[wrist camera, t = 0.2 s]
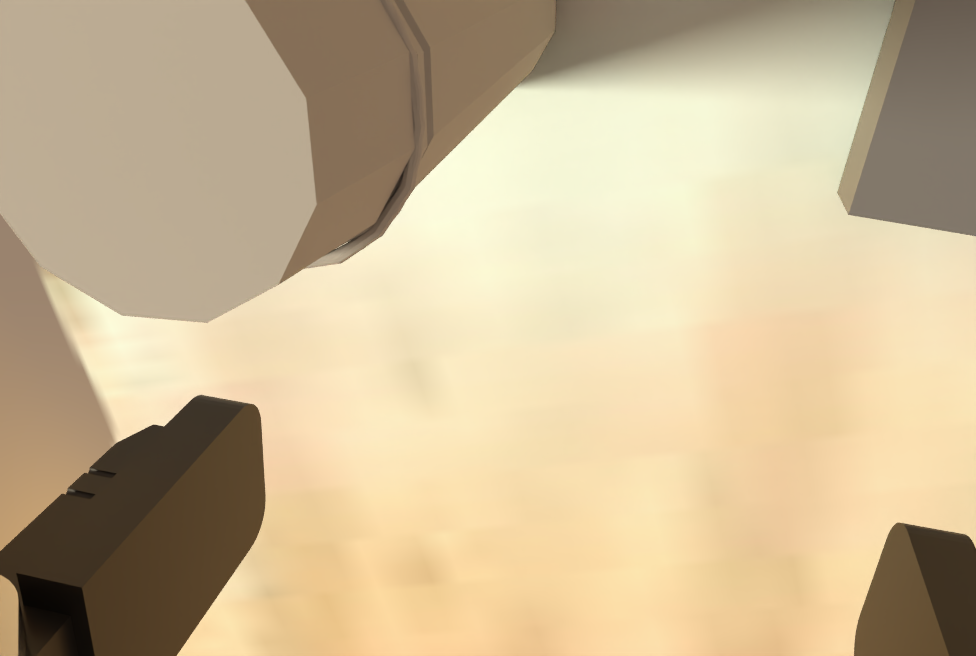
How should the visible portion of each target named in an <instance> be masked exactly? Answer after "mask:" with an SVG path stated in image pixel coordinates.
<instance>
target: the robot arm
mask: <svg viewBox="0 0 976 656" xmlns="http://www.w3.org/2000/svg"><path fill="white" fill-rule="evenodd" d="M264 510H265V481H264V464H263V446H262V429H261V417H260V413H259V410H258V408H257V407H256V406H255V405H254V404H248V403H243V402H237V401H231V400H226V399H220V398H215V397H209V396H204V395H199V396H196V397H194V398H193V399H192V400H191V401H190V402H189V403H188V404H187V405H186V406H185V407H184V408H183V409H182V410H181V411H180V412H179V413H178V414H177V415H176V416H175V417H174V418H173V419H172V420H171V421H169V422H168V423H167V424H166V425H165V426H164V427H163V426H158V425H151V426H149V427H147V428H145V429H144V430H142V431H140V432H138V433H136V434H134V435H132V436H130V437H128V438H126V439H124V440H122V441H120V442H118V443H116V444H115V445H114V446H113V447H111V448H110V449H109V450H108V451H107V452H106V453H105V454H104V455H103V456H102V457H101V458H100V459H99V460H98V461H97V462H95V463H94V464H93V465H92V466H91V467H90V470H89V473H88V474H87V473H84V474H83V475H81V477H79V479H77V480H76V481H75V482H74V483H73V484H72V485H71V486H70V487H69V488H68V491H67V493H66V495H65V494H61V495H60V496H59V497H58V498H57V499H56V500H55V501H54V502H53V503H52V504H51V505H49V506H48V507H47V508H46V509H45V510H44V511H43V512H42V513H41V514H40V515H39V516H38V517H37V518H35V520H34V521H32V522H31V523H30V524H29V525H28V526H27V527H26V528H25V529H24V530H23V531H21V532H20V533H19V534H18V535H17V536H16V537H15V538H14V539H13V540H12V541H11V542H10V543H9V544H8V545H6V546H5V547H4V548H3V549H2V550H1V551H0V656H177V654H178V653H179V651H180V650H181V648H182V647H183V646H184V644H185V643H186V641H187V640H188V638H189V637H190V635H191V634H192V632H193V631H194V630H195V628H196V627H197V625H198V624H199V622H200V621H201V619H202V618H203V617H204V615H205V614H206V612H207V611H208V609H209V608H210V606H211V605H212V603H213V602H214V601H215V599H216V598H217V596H218V595H219V593H220V592H221V590H222V589H223V588H224V586H225V585H226V583H227V582H228V580H229V579H230V577H231V576H232V574H233V573H234V572H235V570H236V569H237V567H238V566H239V564H240V563H241V561H242V560H243V559H244V557H245V556H246V554H247V553H248V551H249V550H250V548H251V547H252V545H253V544H254V542H255V540H256V538H257V535H258V533H259V530H260V527H261V524H262V521H263V516H264ZM854 656H976V548H975V546H974V544H973V542H972V540H971V539H970V538H969V536H967V535H965V534H959V533H954V532H948V531H943V530H937V529H932V528H926V527H920V526H915V525H909V524H904V523H896V524H895V525H894V526H893V527H892V529H891V530H890V532H889V534H888V537H887V539H886V542H885V545H884V548H883V551H882V554H881V557H880V560H879V562H878V565H877V568H876V571H875V574H874V577H873V580H872V582H871V585H870V588H869V591H868V594H867V597H866V600H865V602H864V605H863V608H862V611H861V614H860V617H859V620H858V624H857V629H856V636H855V647H854Z"/></svg>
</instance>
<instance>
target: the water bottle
mask: <svg viewBox="0 0 976 656" xmlns="http://www.w3.org/2000/svg"><path fill="white" fill-rule="evenodd" d="M555 23H556V0H0V214H1V215H2V217H3V218H4V219H5V220H6V222H7V223H8V225H9V226H10V227H11V229H12V230H13V231H14V233H15V234H16V235H17V236H18V237H19V239H20V240H21V242H22V243H23V244H24V246H25V247H26V248H27V250H28V251H29V252H30V254H31V255H32V256H33V258H34V259H35V260H36V261H37V263H38V264H39V265H40V267H42V268H43V269H45V270H47V271H49V272H50V273H52V274H54V275H55V276H57V277H59V278H60V279H62V280H64V281H65V282H67V283H69V284H70V285H72V286H74V287H75V288H77V289H79V290H80V291H82V292H84V293H85V294H87V295H89V296H90V297H92V298H94V299H95V300H97V301H99V302H100V303H102V304H104V305H105V306H107V307H109V308H110V309H112V310H114V311H115V312H117V313H119V314H120V315H123V316H134V317H146V318H158V319H169V320H181V321H192V322H204V323H208V322H210V321H211V320H213V319H215V318H217V317H219V316H221V315H223V314H224V313H226V312H228V311H230V310H232V309H234V308H236V307H238V306H239V305H241V304H243V303H245V302H247V301H249V300H251V299H253V298H254V297H256V296H258V295H260V294H262V293H264V292H266V291H267V290H269V289H271V288H273V287H275V286H277V285H279V284H280V283H282V282H283V281H285V280H287V279H288V278H290V277H291V276H293V275H294V274H296V273H298V272H299V271H301V270H302V269H305V268H312V267H319V266H325V265H332V264H339V263H343V262H344V261H345V260H347V259H348V258H350V257H351V256H353V255H354V254H356V253H357V252H359V251H360V250H362V249H364V248H365V247H366V246H368V245H369V244H371V243H372V242H374V241H375V240H376V239H378V238H379V237H381V236H382V235H383V234H384V233H385V231H386V230H387V228H388V227H389V225H390V224H391V222H392V221H393V220H394V218H395V217H396V216H397V215H398V213H399V212H400V211H401V209H402V207H403V205H404V203H405V202H406V200H407V199H408V197H409V196H410V194H411V193H412V191H413V190H414V188H415V187H416V186H417V185H418V184H419V183H420V182H421V181H422V180H423V179H424V178H425V177H426V176H427V175H428V174H429V173H430V172H431V171H432V170H433V169H434V168H435V167H436V166H437V165H438V164H439V163H440V162H441V161H442V160H443V159H444V158H445V157H446V156H447V155H448V154H449V153H450V152H451V151H452V150H453V149H454V148H455V147H456V146H457V145H458V144H459V143H460V142H461V141H462V140H463V139H464V138H465V137H466V136H467V135H468V134H469V133H470V132H471V131H472V130H473V129H474V128H475V127H476V126H477V125H478V124H479V123H480V122H481V121H482V120H483V119H484V118H485V117H486V116H487V115H488V114H489V113H490V112H491V111H492V110H493V109H494V108H495V107H496V106H497V105H498V104H499V103H500V102H501V101H502V100H503V99H504V98H505V97H506V96H507V95H508V94H509V93H510V92H511V91H512V90H513V89H514V88H515V87H516V86H517V85H518V84H519V83H520V82H521V81H522V80H524V79H525V78H526V77H527V76H528V75H529V74H530V73H531V72H532V70H533V69H534V67H535V65H536V63H537V62H538V60H539V58H540V56H541V55H542V53H543V51H544V50H545V48H546V46H547V44H548V43H549V41H550V39H551V37H552V36H553V34H554V32H555ZM350 240H351V241H350ZM348 241H349V242H348ZM346 242H348V243H346ZM344 243H346V244H344ZM343 244H344V245H343ZM341 245H342V246H341ZM339 246H341V247H339ZM337 247H339V248H337ZM335 248H337V249H335Z"/></svg>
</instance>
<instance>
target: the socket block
mask: <svg viewBox="0 0 976 656" xmlns="http://www.w3.org/2000/svg"><path fill="white" fill-rule="evenodd" d="M837 193H838V195H839V197H840V199H841V201H842V203H843V205H844V207H845V209H846V211H847V213H848V215H853V216H859V217H865V218H871V219H877V220H883V221H889V222H895V223H901V224H907V225H913V226H919V227H925V228H931V229H937V230H943V231H949V232H955V233H960V234H966V235H972V236H976V0H896V1H895V4H894V7H893V11H892V14H891V17H890V21H889V24H888V27H887V30H886V34H885V37H884V40H883V44H882V47H881V50H880V54H879V57H878V60H877V63H876V67H875V70H874V73H873V77H872V80H871V83H870V87H869V90H868V93H867V96H866V100H865V103H864V106H863V110H862V113H861V116H860V120H859V123H858V126H857V129H856V133H855V136H854V139H853V143H852V146H851V149H850V153H849V156H848V159H847V162H846V166H845V169H844V172H843V176H842V179H841V182H840V186H839V189H838V192H837Z"/></svg>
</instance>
